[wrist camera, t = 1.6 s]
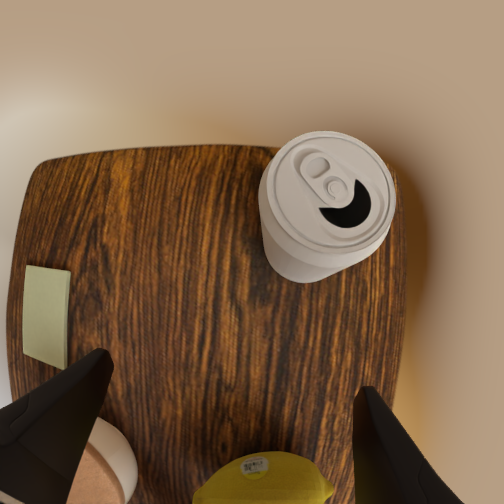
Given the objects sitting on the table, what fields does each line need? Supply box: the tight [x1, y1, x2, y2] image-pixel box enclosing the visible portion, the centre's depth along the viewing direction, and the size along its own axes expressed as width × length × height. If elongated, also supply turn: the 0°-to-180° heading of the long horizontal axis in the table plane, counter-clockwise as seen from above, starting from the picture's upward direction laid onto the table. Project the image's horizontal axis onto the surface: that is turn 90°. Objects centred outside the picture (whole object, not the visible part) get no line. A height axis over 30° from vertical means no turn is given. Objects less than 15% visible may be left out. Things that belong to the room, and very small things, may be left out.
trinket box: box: [66, 417, 138, 504], centre depth 16 cm, size 11×11×9 cm
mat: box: [23, 265, 71, 370], centre depth 23 cm, size 10×7×1 cm
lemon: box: [192, 451, 334, 504], centre depth 16 cm, size 11×8×8 cm
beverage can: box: [258, 131, 396, 283], centre depth 17 cm, size 6×6×12 cm
